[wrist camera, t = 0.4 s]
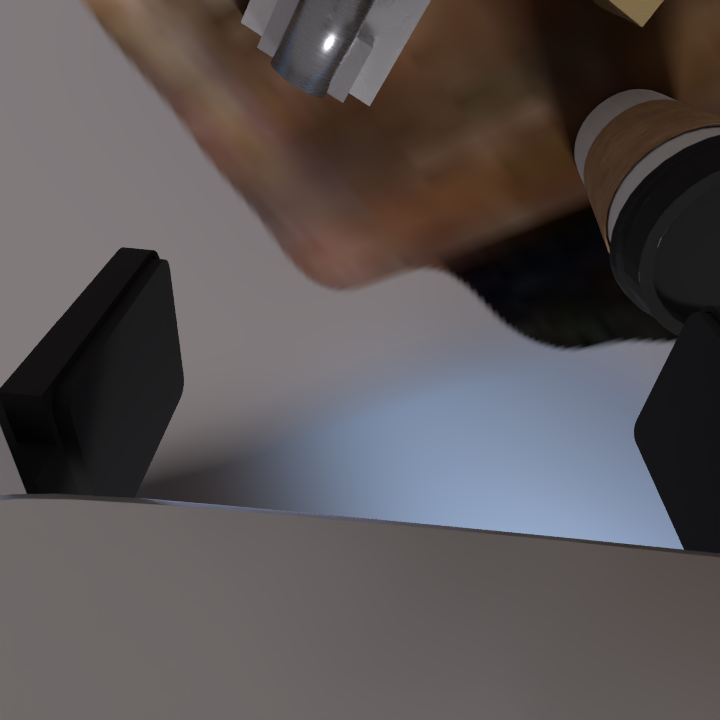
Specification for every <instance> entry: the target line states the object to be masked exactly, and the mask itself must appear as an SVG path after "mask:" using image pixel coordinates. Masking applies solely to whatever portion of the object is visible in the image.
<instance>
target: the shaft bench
mask: <svg viewBox="0 0 720 720" xmlns="http://www.w3.org/2000/svg"><path fill="white" fill-rule="evenodd" d="M430 1H431V0H250V1H249V4H248V6H247V9H246V11H245V14H244V16H243V19H242V21H241V23H243V24H244V25H246V26H247V27H249V28H250V29H252V30H253V31H255V32H256V33H258V34H259V35H261V36H262V37H261V40H260V42H259V44H258V47H257V48H259V49H260V50H262V51H263V52H265V53H267V54H268V55H270V56H271V57H273V58H272V61H271V65H272V67H273V68H274V70H275V71H276V72H277V73H278V74H279V75H280V76H282V77H283V78H284V79H285V80H287V81H288V82H289V83H291V84H292V85H294V86H295V87H297V88H299V89H300V90H302V91H304V92H306V93H308V94H311V95H313V96H317V97H325V95H326V93H329V94H330V95H332V96H333V97H335V98H336V99H338V100H339V101H341V102H344V100H345V98H346V96H347V95H348V93H350V94H351V95H353V96H355V97H356V98H358V99H359V100H361V101H362V102H364V103H365V104H367V105H368V106H370V104H371V103H372V101H373V99H374V98H375V96H376V94H377V92H378V91H379V89H380V87H381V85H382V84H383V82H384V80H385V79H386V77H387V75H388V73H389V72H390V70H391V68H392V66H393V65H394V63H395V61H396V60H397V58H398V56H399V54H400V53H401V51H402V49H403V47H404V46H405V44H406V42H407V41H408V39H409V37H410V35H411V34H412V32H413V30H414V28H415V27H416V25H417V23H418V22H419V20H420V18H421V16H422V15H423V13H424V11H425V9H426V8H427V6H428V4H429V3H430Z"/></svg>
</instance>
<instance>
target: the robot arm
mask: <svg viewBox="0 0 720 720" xmlns="http://www.w3.org/2000/svg"><path fill="white" fill-rule="evenodd" d="M183 386H184V376H183V368H182V360H181V352H180V344H179V336H178V329H177V321H176V314H175V305H174V297H173V290H172V282H171V274H170V268H169V264H168V261H167V260H163V259H159V256H158V254H157V252H156V251H154V250H144V249H134V248H120V249H119V250H118V251H117V252H116V254H115V255H114V256H113V257H112V258H111V259H110V261H109V262H108V263H107V264H106V265H105V267H104V268H103V269H102V270H101V271H100V273H98V275H97V276H96V277H95V278H94V279H93V281H92V282H91V283H90V284H89V285H88V286H87V288H86V289H85V290H84V291H83V292H82V293H81V295H80V296H79V297H78V298H77V299H76V300H75V302H74V303H73V304H72V305H71V306H70V307H69V309H68V310H67V311H66V312H65V313H64V315H63V316H62V317H61V318H60V319H59V320H58V321H57V322H56V324H55V325H54V326H53V327H52V328H51V329H50V331H49V332H48V333H47V334H46V336H45V337H44V338H43V339H42V340H41V341H40V342H39V343H38V345H37V346H36V347H35V348H34V349H33V351H32V352H31V353H30V354H29V355H28V356H27V358H26V359H25V360H24V361H23V362H22V363H21V365H20V366H19V367H18V368H17V369H16V371H15V372H14V373H13V374H12V375H11V376H10V377H9V379H8V380H7V381H6V382H5V383H4V384H3V386H2V387H1V388H0V720H720V306H710V305H707V306H705V307H703V308H702V309H701V310H700V311H699V312H694V313H692V314H691V315H690V316H689V317H688V319H687V320H686V322H685V324H684V326H683V328H682V330H681V332H680V334H679V336H678V338H677V340H676V342H675V344H674V346H673V348H672V350H671V352H670V355H669V357H668V358H667V360H666V363H665V364H664V366H663V368H662V371H661V372H660V374H659V376H658V378H657V381H656V382H655V384H654V387H653V388H652V391H651V393H650V395H649V397H648V399H647V401H646V403H645V405H644V407H643V409H642V411H641V413H640V415H639V417H638V419H637V421H636V423H635V428H634V437H635V441H636V444H637V446H638V448H639V450H640V453H641V455H642V457H643V459H644V462H645V464H646V466H647V468H648V470H649V473H650V475H651V477H652V479H653V481H654V484H655V486H656V488H657V490H658V493H659V495H660V497H661V499H662V501H663V504H664V506H665V508H666V510H667V512H668V515H669V517H670V519H671V521H672V523H673V526H674V528H675V530H676V533H677V535H678V537H679V539H680V541H681V544H682V546H683V548H684V550H681V549H670V548H662V547H652V546H642V545H632V544H623V543H613V542H603V541H593V540H582V539H573V538H563V537H553V536H542V535H533V534H522V533H512V532H501V531H492V530H482V529H471V528H459V527H450V526H440V525H429V524H419V523H409V522H398V521H388V520H377V519H366V518H355V517H343V516H334V515H322V514H311V513H301V512H290V511H278V510H268V509H257V508H246V507H234V506H224V505H213V504H201V503H190V502H178V501H167V500H155V499H142V498H135V496H136V493H137V492H138V489H139V487H140V485H141V483H142V481H143V478H144V476H145V474H146V472H147V470H148V468H149V465H150V463H151V461H152V459H153V457H154V455H155V452H156V450H157V448H158V446H159V444H160V441H161V439H162V437H163V435H164V433H165V430H166V428H167V426H168V424H169V422H170V420H171V417H172V415H173V413H174V411H175V409H176V407H177V405H178V402H179V400H180V398H181V395H182V391H183Z"/></svg>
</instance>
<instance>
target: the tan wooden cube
mask: <svg viewBox="0 0 720 720" xmlns="http://www.w3.org/2000/svg"><path fill="white" fill-rule="evenodd" d="M591 1H593V2H594V3H595V4H596V5H597V6H599V7H601V8H603V9H605V10H607V11H609V12H611V13H613V14H615V15H617V16H619V17H622V18H624V19H626V20H628V21H630V22H632V23H634V24H636V25H638V26H641V27H643V26H644V25H645V23H646V22H647V21H648V20H649V18H650V17H651V16H652V15H653V13H654V12H655V11H656V9H657V8H658V7H659V6H660V4H661V3H662V2H663V1H664V0H591Z"/></svg>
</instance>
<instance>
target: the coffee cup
mask: <svg viewBox="0 0 720 720" xmlns="http://www.w3.org/2000/svg"><path fill="white" fill-rule="evenodd" d="M574 156H575V163H576V166H577V169H578V172H579V174H580V177H581V179H582V181H583V183H584V186H585V189H586V192H587V195H588V198H589V200H590V203H591V206H592V208H593V211H594V214H595V217H596V219H597V222H598V225H599V227H600V230H601V233H602V236H603V238H604V241H605V244H606V246H607V249H608V252H609V254H610V265H611V268H612V271H613V274H614V277H615V280H616V281H617V283H618V284H619V286H620V288H621V289H622V291H623V292H624V293H625V294H626V295H627V296H628V297H629V298H630V299H631V300H632V301H633V302H634V303H635V304H636V305H637V306H638V307H639V308H640V309H641V310H643V311H645V312H647V313H648V314H650V315H652V316H653V317H655V318H656V320H657V321H658V322H659V323H660V324H661V325H662V326H663V327H665V328H666V329H668V330H669V331H671V332H672V333H674V334H676V335H679V334H680V332H681V330H682V328H683V326H684V324H685V322H686V320H687V319H688V317H689V316H690V315H691V314H692V313H694V312H699V311H700V310H701V309H702V308H703V307H705V306H707V305H710V306H720V116H718V115H715V114H713V113H710V112H707V111H705V110H702V109H699V108H697V107H694V106H691V105H688V104H686V103H683V102H680V101H677V100H675V99H672V98H670V97H668V96H666V95H663V94H661V93H658V92H655V91H652V90H646V89H633V90H627V91H624V92H620V93H617V94H615V95H613V96H611V97H609V98H608V99H606V100H605V101H603V102H602V103H600V104H599V105H598V106H597V107H596V108H595V109H594V110H593V111H592V112H591V113H590V114H589V115H588V117H587V118H586V119H585V121H584V122H583V124H582V126H581V128H580V130H579V132H578V135H577V138H576V141H575V149H574Z"/></svg>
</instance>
